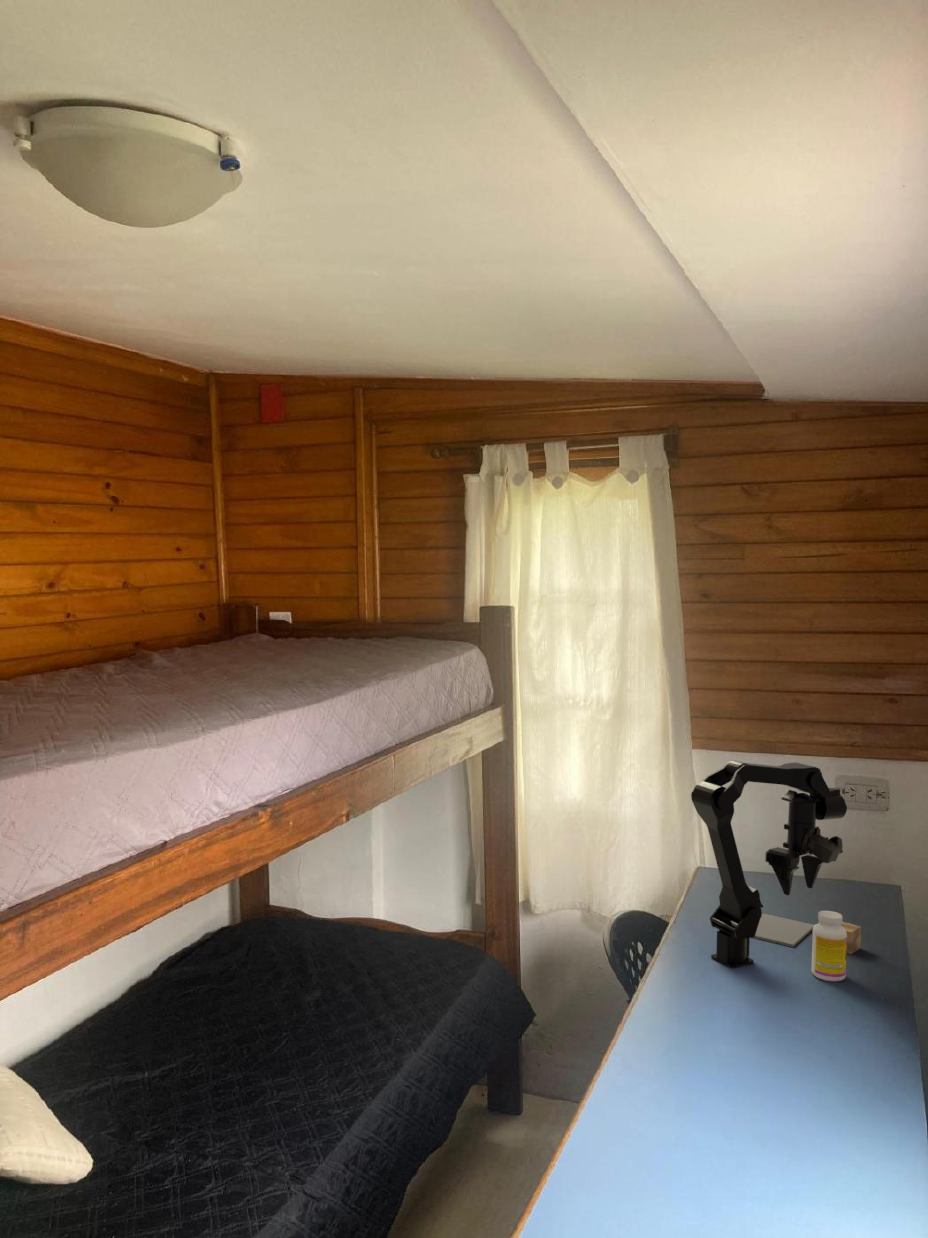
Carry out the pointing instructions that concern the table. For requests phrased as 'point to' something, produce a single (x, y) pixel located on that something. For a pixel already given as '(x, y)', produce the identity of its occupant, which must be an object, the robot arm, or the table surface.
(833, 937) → the supplement bottle
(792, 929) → the mat
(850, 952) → the light brown cube
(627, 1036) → the table surface
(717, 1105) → the table surface
